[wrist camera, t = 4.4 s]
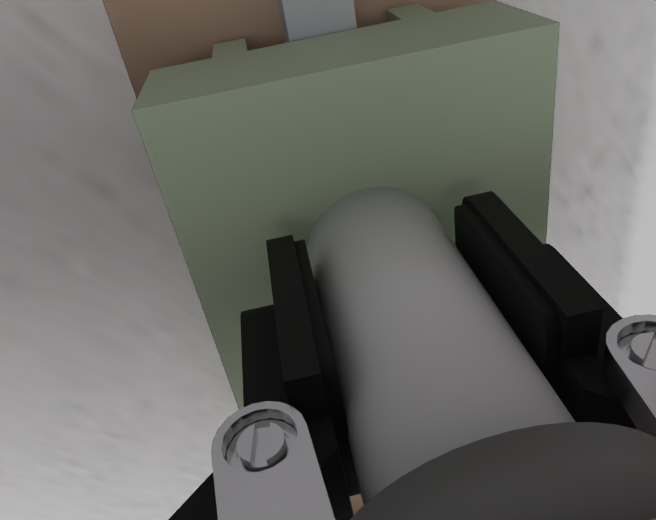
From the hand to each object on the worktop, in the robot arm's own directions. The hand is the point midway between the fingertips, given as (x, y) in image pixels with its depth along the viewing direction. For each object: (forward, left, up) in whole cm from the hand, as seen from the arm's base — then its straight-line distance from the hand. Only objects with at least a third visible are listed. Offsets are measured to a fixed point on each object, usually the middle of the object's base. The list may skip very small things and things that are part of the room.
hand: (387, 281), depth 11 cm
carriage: (0, 0, -6) cm, 6 cm away
